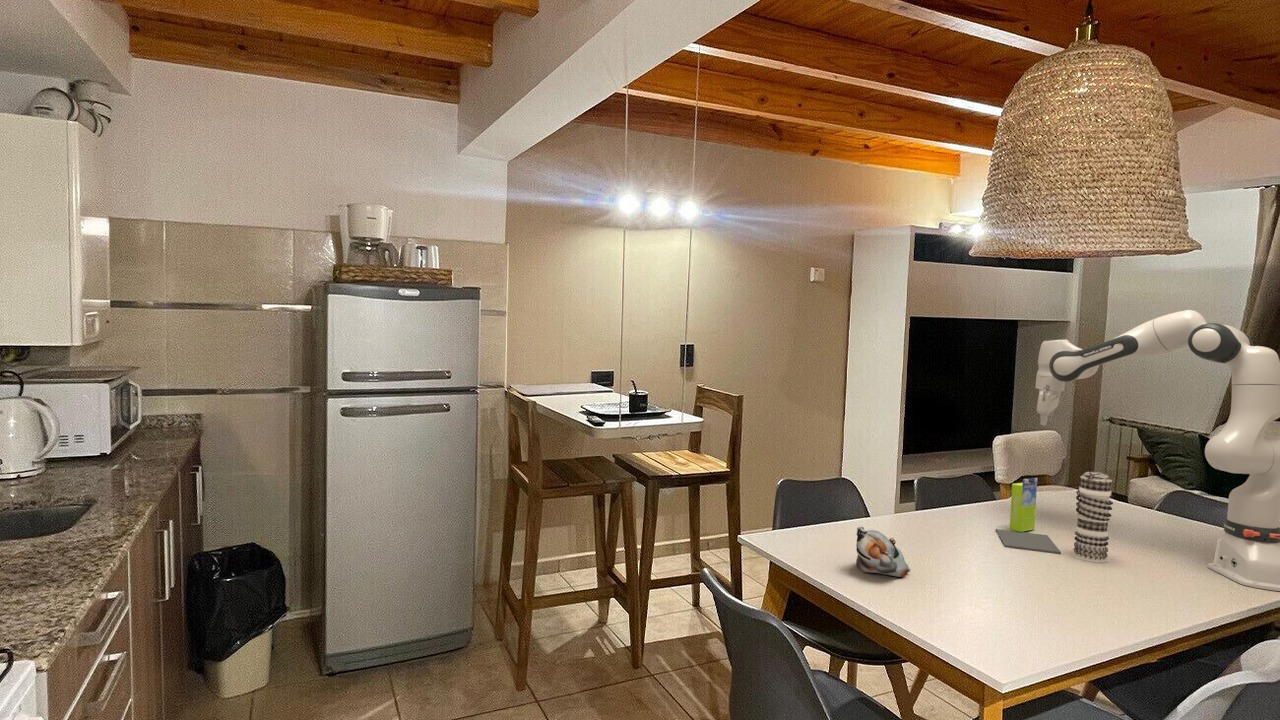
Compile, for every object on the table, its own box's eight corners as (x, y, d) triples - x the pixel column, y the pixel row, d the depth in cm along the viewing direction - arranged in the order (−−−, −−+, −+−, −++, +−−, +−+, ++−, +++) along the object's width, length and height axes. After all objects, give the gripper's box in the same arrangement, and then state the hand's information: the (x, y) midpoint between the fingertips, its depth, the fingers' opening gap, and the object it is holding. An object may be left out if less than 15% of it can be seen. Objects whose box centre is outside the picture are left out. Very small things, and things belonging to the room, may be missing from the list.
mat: (1060, 554, 212) (1061, 552, 212) (1004, 547, 217) (1004, 545, 217) (1047, 536, 230) (1047, 535, 230) (995, 530, 235) (995, 529, 235)
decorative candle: (1081, 551, 216) (1087, 469, 215) (1114, 560, 208) (1121, 475, 207) (1065, 555, 211) (1071, 471, 210) (1099, 564, 204) (1105, 477, 202)
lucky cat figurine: (919, 578, 186) (913, 537, 180) (879, 597, 184) (871, 556, 179) (886, 545, 200) (879, 506, 194) (848, 562, 198) (839, 523, 192)
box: (1023, 527, 241) (1025, 475, 241) (1035, 529, 238) (1038, 477, 238) (1008, 530, 235) (1011, 477, 235) (1021, 532, 231) (1024, 479, 231)
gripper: (1055, 388, 240) (1050, 429, 242) (1065, 382, 256) (1060, 420, 258) (1034, 386, 244) (1030, 426, 246) (1045, 380, 260) (1041, 417, 262)
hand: (1045, 423), depth 252 cm, fingers open, 8 cm apart
